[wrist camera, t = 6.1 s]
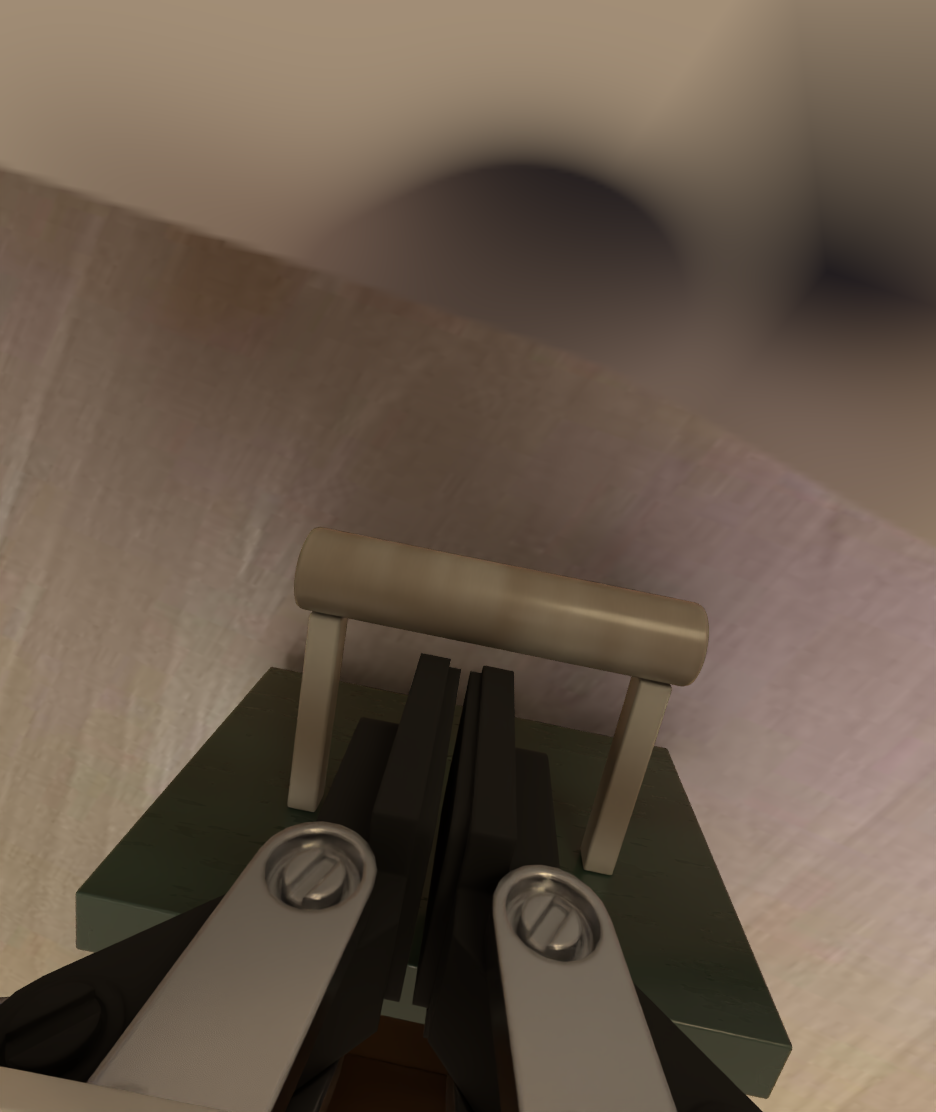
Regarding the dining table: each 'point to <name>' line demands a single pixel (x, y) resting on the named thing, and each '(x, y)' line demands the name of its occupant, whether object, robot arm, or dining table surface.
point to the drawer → (576, 779)
